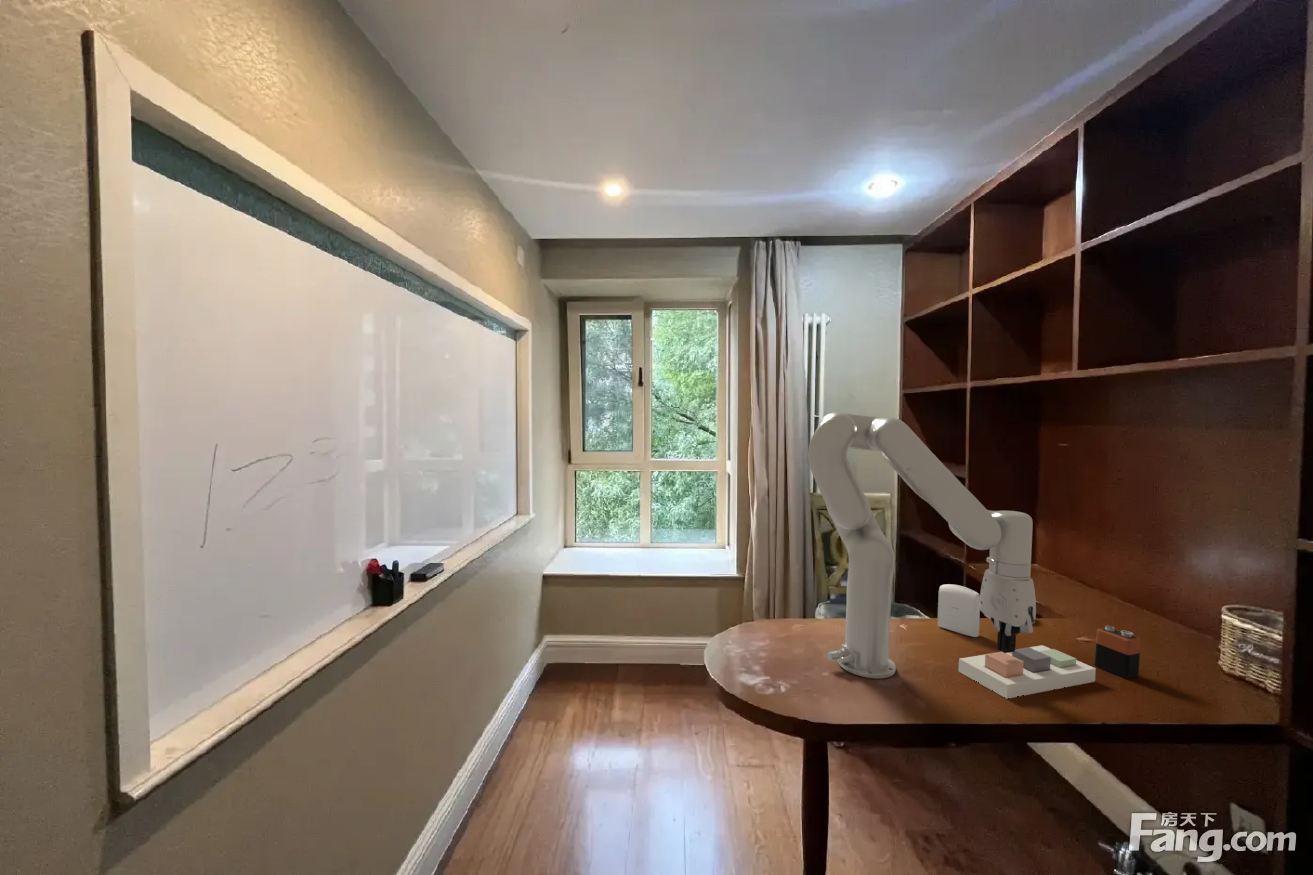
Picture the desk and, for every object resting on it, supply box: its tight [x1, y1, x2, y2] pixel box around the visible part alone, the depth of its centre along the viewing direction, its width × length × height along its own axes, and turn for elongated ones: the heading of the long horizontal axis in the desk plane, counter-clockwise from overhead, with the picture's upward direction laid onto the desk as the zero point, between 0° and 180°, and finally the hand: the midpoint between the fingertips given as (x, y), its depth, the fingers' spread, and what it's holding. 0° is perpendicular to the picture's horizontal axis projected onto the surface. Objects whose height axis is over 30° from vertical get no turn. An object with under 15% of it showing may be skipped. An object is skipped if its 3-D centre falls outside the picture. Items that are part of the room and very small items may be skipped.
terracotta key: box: [984, 651, 1024, 678], centre depth 117 cm, size 5×5×3 cm
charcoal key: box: [1012, 646, 1051, 673], centre depth 119 cm, size 5×5×3 cm
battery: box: [1094, 625, 1142, 680], centre depth 123 cm, size 4×7×10 cm, turn 20°
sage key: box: [1038, 648, 1077, 668], centre depth 122 cm, size 5×5×3 cm
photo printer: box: [937, 583, 981, 638], centre depth 145 cm, size 10×4×12 cm, turn 39°
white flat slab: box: [958, 645, 1097, 699], centre depth 120 cm, size 26×12×3 cm, turn 107°
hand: (1006, 650), depth 117 cm, fingers closed
